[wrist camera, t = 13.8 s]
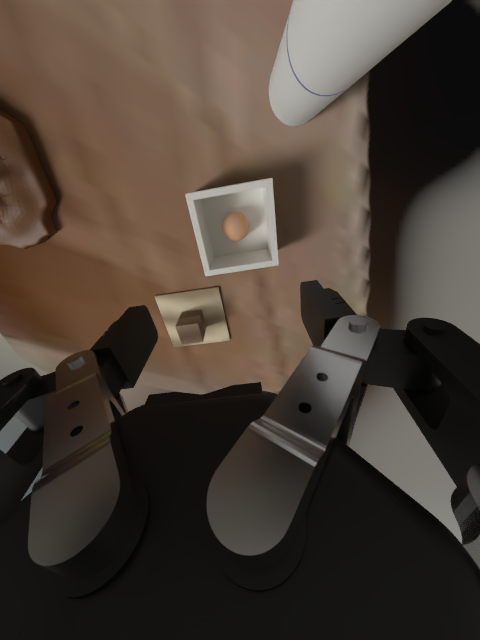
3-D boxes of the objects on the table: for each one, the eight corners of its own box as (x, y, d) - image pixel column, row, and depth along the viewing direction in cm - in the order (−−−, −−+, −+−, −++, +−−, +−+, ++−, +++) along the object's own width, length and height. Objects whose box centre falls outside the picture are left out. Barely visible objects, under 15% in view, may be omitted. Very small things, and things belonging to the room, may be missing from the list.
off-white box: (194, 191, 34) (185, 194, 28) (266, 178, 33) (272, 178, 27) (210, 261, 39) (205, 276, 33) (272, 251, 38) (278, 265, 32)
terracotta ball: (220, 212, 34) (218, 216, 31) (247, 207, 34) (247, 211, 31) (225, 239, 37) (224, 245, 33) (250, 235, 36) (251, 241, 33)
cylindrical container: (263, 121, 29) (326, -32, 8) (275, 39, 26) (446, -633, 4) (317, 130, 30) (507, 9, 9) (336, 51, 26) (752, -502, 5)
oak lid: (156, 294, 43) (144, 309, 38) (218, 285, 42) (215, 299, 37) (175, 344, 49) (167, 363, 44) (230, 337, 48) (228, 356, 43)
